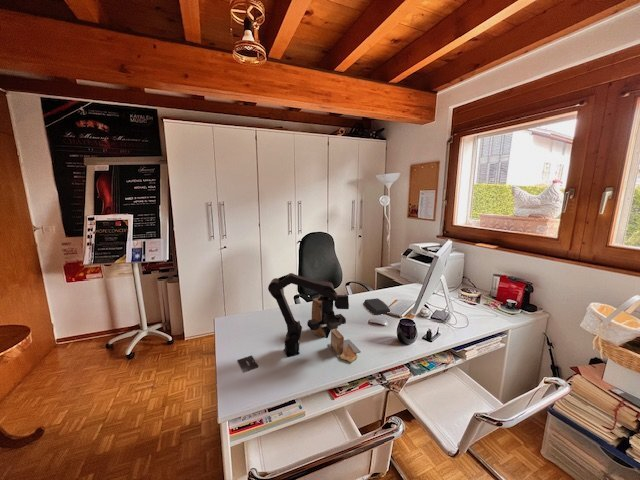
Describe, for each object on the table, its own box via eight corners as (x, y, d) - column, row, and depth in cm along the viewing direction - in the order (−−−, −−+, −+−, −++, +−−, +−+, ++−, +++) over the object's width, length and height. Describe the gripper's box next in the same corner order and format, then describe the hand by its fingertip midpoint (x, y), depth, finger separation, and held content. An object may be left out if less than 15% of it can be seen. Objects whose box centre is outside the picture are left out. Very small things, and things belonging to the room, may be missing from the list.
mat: (338, 358, 128) (338, 357, 128) (327, 345, 139) (327, 344, 139) (360, 352, 133) (360, 351, 133) (348, 339, 144) (348, 339, 144)
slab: (337, 354, 130) (338, 338, 128) (330, 345, 137) (331, 330, 136) (343, 353, 131) (343, 336, 130) (335, 344, 138) (336, 329, 137)
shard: (347, 346, 137) (348, 343, 136) (361, 351, 133) (362, 348, 133) (339, 358, 127) (339, 355, 127) (354, 364, 124) (354, 360, 123)
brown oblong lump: (310, 330, 153) (310, 298, 150) (321, 327, 157) (322, 295, 153) (319, 339, 144) (319, 305, 140) (331, 335, 148) (331, 302, 144)
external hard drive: (378, 302, 194) (379, 297, 193) (392, 314, 176) (392, 308, 175) (362, 303, 191) (362, 298, 190) (374, 316, 172) (374, 310, 172)
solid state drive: (251, 356, 129) (251, 355, 129) (258, 368, 121) (258, 366, 121) (237, 361, 125) (237, 359, 125) (243, 373, 117) (243, 372, 117)
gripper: (316, 319, 116) (315, 350, 119) (352, 312, 124) (351, 342, 127) (307, 308, 126) (306, 338, 129) (341, 302, 134) (340, 330, 137)
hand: (326, 337), depth 130 cm, fingers closed
